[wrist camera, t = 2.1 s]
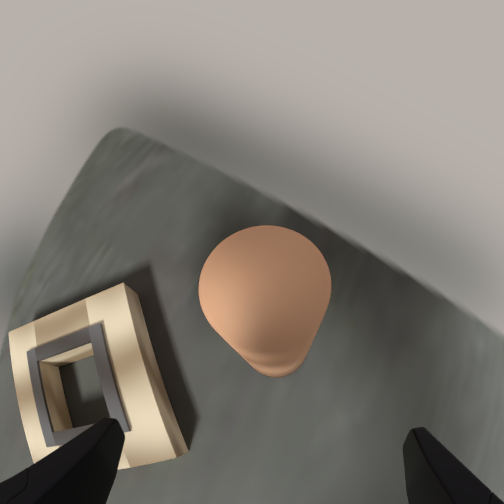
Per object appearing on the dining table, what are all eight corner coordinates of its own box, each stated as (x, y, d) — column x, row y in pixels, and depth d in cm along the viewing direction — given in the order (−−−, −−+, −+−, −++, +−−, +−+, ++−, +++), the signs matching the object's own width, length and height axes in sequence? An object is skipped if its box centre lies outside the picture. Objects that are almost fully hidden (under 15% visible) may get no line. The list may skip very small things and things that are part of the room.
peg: (319, 354, 20) (357, 297, 9) (267, 389, 19) (243, 377, 8) (284, 307, 21) (280, 204, 11) (234, 339, 21) (176, 268, 10)
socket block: (188, 451, 18) (174, 458, 15) (58, 474, 17) (36, 478, 14) (138, 294, 23) (121, 281, 20) (27, 339, 22) (6, 331, 19)
